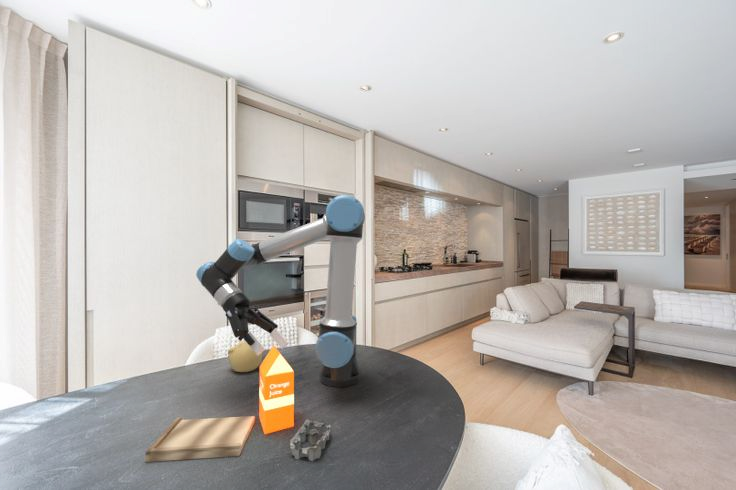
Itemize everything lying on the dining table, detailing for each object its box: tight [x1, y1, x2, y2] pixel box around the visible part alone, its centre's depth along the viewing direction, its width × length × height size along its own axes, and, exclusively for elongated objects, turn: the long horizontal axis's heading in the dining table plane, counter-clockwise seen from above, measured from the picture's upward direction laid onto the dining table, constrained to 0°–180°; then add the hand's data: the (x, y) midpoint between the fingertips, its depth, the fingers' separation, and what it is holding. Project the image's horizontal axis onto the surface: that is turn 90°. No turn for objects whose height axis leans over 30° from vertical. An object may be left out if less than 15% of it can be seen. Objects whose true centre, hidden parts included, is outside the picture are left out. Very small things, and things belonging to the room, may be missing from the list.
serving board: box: [145, 415, 256, 463], centre depth 76 cm, size 20×14×2 cm
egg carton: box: [289, 418, 332, 462], centre depth 74 cm, size 11×8×4 cm
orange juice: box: [258, 344, 295, 435], centre depth 84 cm, size 8×9×20 cm
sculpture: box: [227, 340, 263, 373], centre depth 120 cm, size 11×12×11 cm
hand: (274, 348), depth 91 cm, fingers open, 13 cm apart
